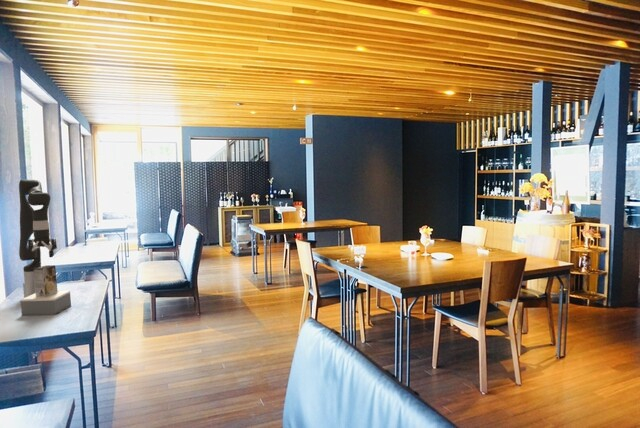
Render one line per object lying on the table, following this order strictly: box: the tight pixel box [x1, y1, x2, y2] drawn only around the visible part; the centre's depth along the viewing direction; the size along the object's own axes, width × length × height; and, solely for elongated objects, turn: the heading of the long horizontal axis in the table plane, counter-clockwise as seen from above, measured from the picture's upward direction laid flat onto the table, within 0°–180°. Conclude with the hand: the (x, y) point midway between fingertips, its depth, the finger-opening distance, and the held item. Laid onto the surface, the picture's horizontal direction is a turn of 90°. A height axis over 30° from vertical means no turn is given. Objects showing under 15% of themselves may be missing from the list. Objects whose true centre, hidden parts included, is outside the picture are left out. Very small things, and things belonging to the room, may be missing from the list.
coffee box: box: [33, 265, 58, 297], centre depth 246 cm, size 9×6×16 cm
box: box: [20, 292, 72, 317], centre depth 247 cm, size 18×16×8 cm
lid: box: [20, 290, 71, 302], centre depth 247 cm, size 18×16×1 cm
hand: (43, 257), depth 245 cm, fingers open, 8 cm apart
